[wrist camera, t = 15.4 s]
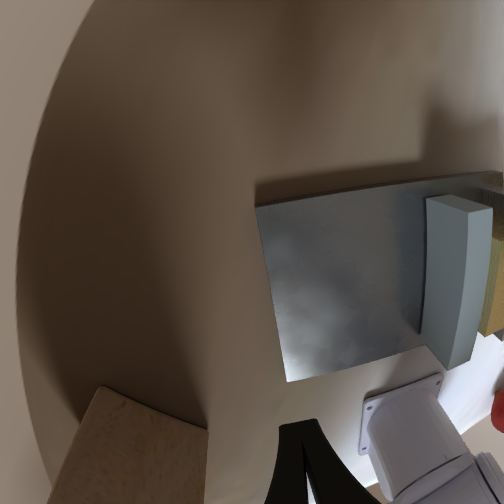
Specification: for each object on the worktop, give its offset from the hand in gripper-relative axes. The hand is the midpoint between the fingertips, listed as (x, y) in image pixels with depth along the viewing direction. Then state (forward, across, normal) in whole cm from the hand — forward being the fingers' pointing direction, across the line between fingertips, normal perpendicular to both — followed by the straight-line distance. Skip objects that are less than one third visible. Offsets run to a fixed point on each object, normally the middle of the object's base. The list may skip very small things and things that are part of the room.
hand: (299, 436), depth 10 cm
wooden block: (+10, +14, +11) cm, 20 cm away
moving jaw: (+8, -11, -1) cm, 14 cm away
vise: (+9, -9, -1) cm, 13 cm away
